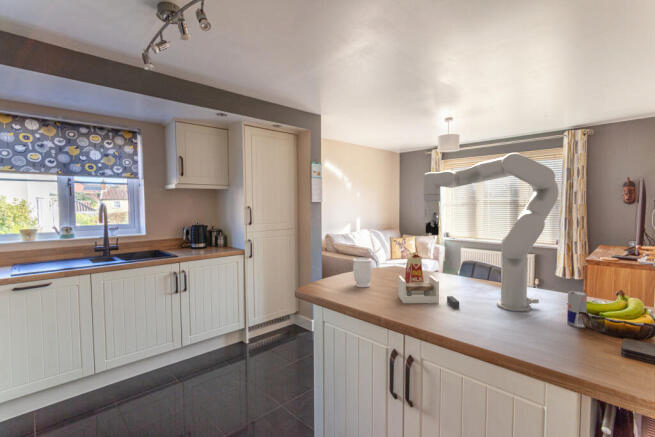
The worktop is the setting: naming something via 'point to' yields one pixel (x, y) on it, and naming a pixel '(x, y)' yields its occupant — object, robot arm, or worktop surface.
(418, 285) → the board
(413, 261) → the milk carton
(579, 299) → the energy drink
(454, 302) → the rubber block
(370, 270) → the jar
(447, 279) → the worktop surface
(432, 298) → the peg frame
